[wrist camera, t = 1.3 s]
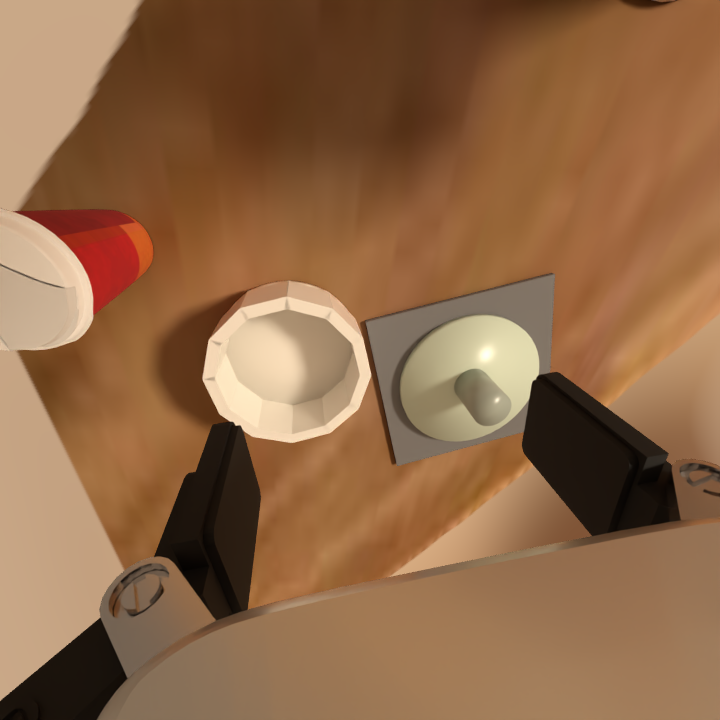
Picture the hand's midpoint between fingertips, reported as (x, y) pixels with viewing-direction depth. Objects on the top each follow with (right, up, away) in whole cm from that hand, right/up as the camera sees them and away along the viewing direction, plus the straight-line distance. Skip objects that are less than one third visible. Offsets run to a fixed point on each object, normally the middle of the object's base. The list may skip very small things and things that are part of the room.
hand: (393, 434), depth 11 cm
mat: (+11, 0, +30) cm, 32 cm away
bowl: (-8, +4, +25) cm, 27 cm away
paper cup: (-21, +12, +19) cm, 31 cm away
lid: (+11, 0, +30) cm, 32 cm away
